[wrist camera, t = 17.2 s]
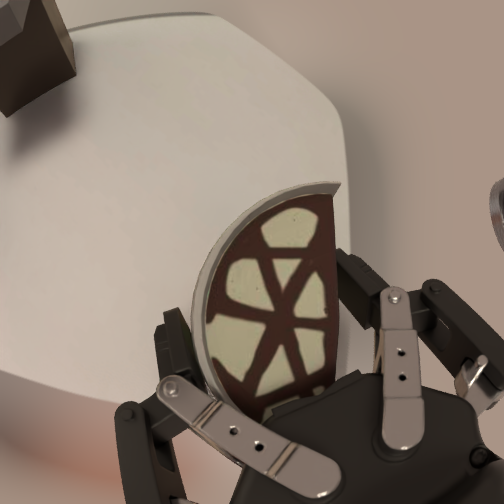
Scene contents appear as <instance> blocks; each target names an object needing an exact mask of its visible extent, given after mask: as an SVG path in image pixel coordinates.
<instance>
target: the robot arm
mask: <svg viewBox="0 0 504 504" xmlns="http://www.w3.org/2000/svg"><path fill="white" fill-rule="evenodd" d="M336 265H337V283H338V298H339V299H340V300H341V302H342V303H343V304H344V305H345V306H346V308H347V309H348V310H349V311H350V312H351V314H352V315H353V316H354V317H355V319H356V320H357V321H358V322H359V323H360V325H361V326H362V327H363V328H364V330H366V329H368V328H370V327H373V328H374V330H375V332H374V366H373V373H367V374H361V372H360V371H359V370H356V371H354V372H352V373H350V374H348V375H346V376H344V377H342V378H340V379H338V380H337V381H336V382H334V383H333V384H332V385H331V386H330V387H328V388H327V389H326V390H325V391H323V392H322V393H321V394H319V395H316V396H311V397H306V398H301V399H295V400H292V401H290V402H287V403H285V404H282V405H280V406H277V407H275V408H272V409H271V411H272V414H273V415H272V416H270V417H269V418H268V419H267V420H265V421H264V422H263V424H262V425H260V424H259V423H257V422H255V421H254V420H252V419H250V418H249V417H247V416H245V415H244V414H242V413H240V412H239V411H237V410H236V409H234V408H232V407H231V406H229V405H228V404H226V403H224V402H223V401H220V400H218V401H216V400H214V399H213V398H211V397H210V396H208V392H207V388H206V385H205V381H204V378H203V375H202V373H201V370H200V368H199V365H198V363H197V360H196V356H195V352H194V347H193V343H192V336H191V332H190V329H189V327H188V325H187V323H186V321H185V319H184V317H183V315H182V313H181V311H180V309H179V308H178V307H177V308H174V309H171V310H168V311H166V312H164V313H163V315H164V322H165V324H162V325H159V326H157V327H156V330H155V333H154V341H155V349H156V357H157V364H158V371H159V377H160V382H159V384H158V385H157V388H156V392H155V393H154V394H153V395H152V396H151V397H149V398H148V399H146V400H145V401H143V402H141V403H140V404H138V403H137V402H134V401H128V402H125V403H123V404H121V405H120V406H119V407H118V408H117V410H116V412H115V417H114V420H115V432H116V441H117V449H118V458H119V465H120V472H121V478H122V484H123V490H124V495H125V501H126V504H198V503H195V502H192V501H189V500H187V497H186V493H185V490H184V486H183V483H182V479H181V475H180V472H179V468H178V464H177V460H176V456H175V452H174V447H173V443H172V438H173V437H175V436H176V435H178V434H180V433H181V432H182V431H184V430H186V429H187V428H188V429H190V430H191V431H192V432H194V433H195V434H196V435H197V436H199V437H200V438H201V439H203V440H204V441H205V442H207V443H208V444H209V445H211V446H212V447H213V448H215V449H216V450H217V451H219V452H220V453H221V454H222V455H224V456H225V457H227V458H228V459H230V460H231V461H232V462H234V463H236V464H237V465H239V466H240V467H242V468H243V469H242V471H241V474H240V477H239V480H238V482H237V485H236V488H235V490H234V493H233V496H232V498H231V501H230V503H229V504H504V460H503V459H502V458H500V457H499V456H497V455H496V454H494V453H493V452H492V451H490V450H489V449H488V448H487V447H486V446H485V444H484V442H483V440H482V437H481V434H480V431H479V426H478V419H477V417H478V416H480V415H481V414H482V413H483V412H484V411H485V410H489V409H491V408H492V407H494V405H495V404H496V403H497V402H498V401H499V400H500V399H501V398H502V397H503V396H504V340H503V339H502V338H501V337H500V336H499V335H498V334H497V333H496V332H495V331H494V330H493V329H492V328H491V327H490V326H489V325H488V324H487V323H486V322H485V321H484V320H483V319H482V318H481V317H480V316H479V315H478V314H477V313H476V312H475V311H474V310H473V309H472V308H471V307H470V306H469V305H468V304H467V303H466V302H465V301H463V300H462V299H461V298H460V297H459V296H458V295H457V294H456V293H455V292H454V291H452V290H451V289H450V288H449V287H448V286H447V285H446V284H445V283H443V282H442V281H440V280H437V279H430V280H427V281H425V282H424V283H423V285H422V289H420V290H415V291H410V292H406V291H405V290H404V289H402V288H399V287H394V286H393V287H390V286H389V285H388V284H387V283H386V282H385V281H384V280H383V279H382V278H381V277H380V276H379V275H378V274H377V273H376V272H375V271H374V270H372V268H371V267H370V266H369V265H367V264H366V263H365V262H364V261H363V260H362V259H361V258H359V257H357V256H355V255H353V254H350V255H347V254H346V253H345V252H344V251H343V250H342V249H340V248H338V249H336ZM444 324H445V325H444ZM446 326H447V327H448V328H449V329H448V328H447V327H446ZM417 335H418V336H419V338H420V339H421V340H422V341H423V342H424V343H425V344H426V345H427V347H428V348H429V349H430V350H431V351H432V352H433V353H434V355H435V356H436V357H437V358H438V359H439V360H440V362H441V363H442V364H443V365H444V366H445V368H446V369H447V370H448V371H449V372H450V373H451V375H452V376H453V377H454V378H455V380H454V386H455V389H456V394H457V395H453V394H449V393H446V392H442V391H438V390H435V389H431V388H428V387H425V386H421V371H420V357H419V346H418V336H417Z"/></svg>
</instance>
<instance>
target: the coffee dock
mask: <svg viewBox="0 0 504 504" xmlns="http://www.w3.org/2000/svg"><path fill="white" fill-rule="evenodd" d="M74 76H76V68H75V60H74V52H73V43H72V40H71V38H70V36H69V34H68V31H67V29H66V27H65V24H64V22H63V19H62V17H61V15H60V12H59V10H58V8H57V5H56V2H55V0H0V111H1V112H2V113H3V114H4V115H5V117H6V118H7V117H8V116H10V115H11V114H12V113H14V112H15V111H17V110H18V109H20V108H21V107H23V106H24V105H26V104H27V103H29V102H30V101H32V100H34V99H35V98H37V97H38V96H40V95H42V94H43V93H45V92H47V91H48V90H50V89H52V88H54V87H55V86H57V85H59V84H61V83H63V82H64V81H66V80H68V79H70V78H72V77H74Z"/></svg>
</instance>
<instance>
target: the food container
mask: <svg viewBox="0 0 504 504" xmlns="http://www.w3.org/2000/svg"><path fill="white" fill-rule="evenodd" d="M340 185H341V182H324V181H323V182H316V183H308V184H302V185H297V186H294V187H291V188H287V189H284V190H281V191H278V192H276V193H274V194H272V195H270V196H268V197H266V198H264V199H262V200H260V201H259V202H257V203H256V204H254V205H253V206H252V207H250V208H249V209H247V210H246V211H245V212H243V213H242V214H241V215H240V216H239V217H238V218H237V219H236V220H235V221H234V222H233V223H232V224H231V225H230V226H229V227H228V228H227V229H226V230H225V232H224V233H223V234H222V235H221V237H220V238H219V240H218V241H217V242H216V244H215V245H214V247H213V248H212V250H211V251H210V252H209V254H208V256H207V258H206V260H205V262H204V264H203V267H202V269H201V271H200V273H199V276H198V280H197V283H196V286H195V290H194V293H193V300H192V308H191V336H192V343H193V347H194V352H195V356H196V360H197V363H198V365H199V368H200V370H201V373H202V375H203V377H204V380H205V382H206V383H207V385H208V387H209V388H210V390H211V391H212V393H213V394H214V396H215V398H216V399H217V400H220V401H223V402H224V403H226V404H228V405H229V406H231V407H232V408H234V409H236V410H237V411H239V412H240V413H242V414H244V415H245V416H247V417H249V418H250V419H252V420H254V421H255V422H257V423H259V424H260V425H262V424H263V422H264V421H265V420H267V419H268V418H269V417H270V416H272V415H273V414H272V411H271V409H272V408H275V407H277V406H280V405H282V404H285V403H287V402H290V401H292V400H295V399H301V398H306V397H311V396H316V395H319V394H321V393H322V392H323V391H325V390H326V389H327V388H328V387H330V386H331V385H332V384H333V383H334V382H335V374H336V359H337V348H338V334H339V298H338V283H337V265H336V245H335V225H334V209H333V197H334V195H335V193H336V192H337V190H338V188H339V187H340Z"/></svg>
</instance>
